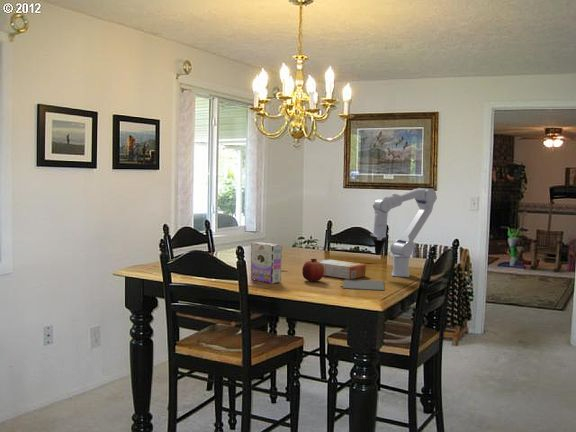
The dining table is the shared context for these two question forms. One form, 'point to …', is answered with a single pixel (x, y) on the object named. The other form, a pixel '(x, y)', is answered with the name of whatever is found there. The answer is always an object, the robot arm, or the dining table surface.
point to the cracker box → (343, 269)
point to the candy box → (266, 262)
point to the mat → (363, 285)
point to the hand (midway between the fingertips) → (377, 254)
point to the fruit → (313, 270)
